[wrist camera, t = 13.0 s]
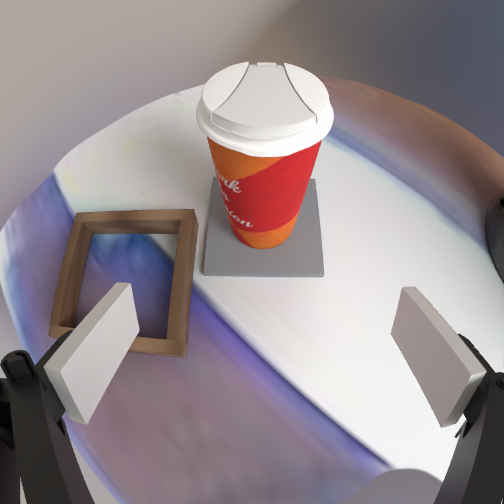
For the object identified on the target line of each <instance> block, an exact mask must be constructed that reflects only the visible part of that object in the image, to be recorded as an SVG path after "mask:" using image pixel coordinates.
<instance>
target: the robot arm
mask: <svg viewBox="0 0 504 504" xmlns="http://www.w3.org/2000/svg"><path fill="white" fill-rule="evenodd" d="M486 235H487V241H488V245H489V249H490V252H491V255H492V258H493V261H494V263H495V266H496V268H497V270H498V272H499V274H500V276H501V278H502V280H503V281H504V192H503V193H502V194H500V195H499V196H498V197H497V199H496V200H495V201H494V202H493V203H492V204H491V205H490V207H489V209H488V211H487V215H486ZM139 331H140V330H139V325H138V320H137V315H136V310H135V305H134V299H133V294H132V288H131V283H120V282H117V283H116V284H115V285H114V286H113V287H112V288H111V289H110V290H109V291H108V293H107V294H106V295H105V296H104V297H103V298H102V299H101V300H100V301H99V302H98V303H97V305H96V306H95V307H94V308H93V309H92V310H91V311H90V312H89V314H88V315H87V316H86V317H85V318H84V319H83V320H82V321H81V323H80V324H79V325H78V326H77V327H76V328H75V329H74V330H69V331H67V332H66V333H64V334H63V335H61V336H60V337H59V338H58V339H57V341H56V342H55V344H53V345H52V346H51V348H50V350H48V351H47V352H46V353H45V355H44V356H43V357H42V358H41V359H40V360H39V362H38V363H37V364H36V365H34V363H33V361H32V359H31V357H30V354H29V353H28V352H27V351H24V350H17V351H13V352H11V353H9V354H7V355H6V356H5V357H4V358H3V359H2V361H1V364H0V366H1V368H2V370H3V372H4V373H5V375H6V377H7V378H6V379H5V378H0V504H20V477H21V481H22V486H23V490H24V494H25V498H26V502H27V504H95V503H94V501H93V499H92V497H91V495H90V492H89V490H88V488H87V485H86V483H85V480H84V478H83V475H82V473H81V470H80V468H79V465H78V463H77V459H76V457H75V454H74V451H73V448H72V445H71V442H70V439H69V436H68V432H67V429H66V426H65V422H64V420H63V419H62V415H63V413H64V412H65V411H66V412H67V414H68V416H69V418H70V419H71V420H72V421H75V422H78V423H82V424H85V425H87V424H88V422H89V420H90V418H91V416H92V415H93V413H94V411H95V409H96V407H97V405H98V403H99V401H100V400H101V398H102V396H103V394H104V392H105V390H106V389H107V387H108V385H109V383H110V381H111V379H112V378H113V376H114V374H115V372H116V371H117V369H118V367H119V365H120V363H121V362H122V360H123V358H124V356H125V355H126V353H127V351H128V350H129V348H130V346H131V344H132V343H133V341H134V339H135V338H136V336H137V334H138V332H139ZM391 335H392V337H393V339H394V340H395V342H396V344H397V345H398V347H399V349H400V351H401V352H402V354H403V356H404V358H405V360H406V361H407V363H408V365H409V367H410V369H411V370H412V372H413V374H414V376H415V378H416V380H417V381H418V383H419V385H420V387H421V389H422V391H423V393H424V395H425V396H426V398H427V400H428V402H429V404H430V406H431V408H432V410H433V412H434V414H435V416H436V418H437V420H438V422H439V424H440V426H441V428H443V427H446V426H450V425H453V424H456V423H457V422H458V420H459V419H460V417H461V415H462V414H464V416H465V417H466V420H465V422H464V423H463V425H462V426H461V428H460V429H459V431H458V432H457V434H456V435H455V438H457V437H458V435H459V434H460V436H459V439H458V442H457V446H456V449H455V452H454V454H453V457H452V460H451V463H450V466H449V468H448V471H447V474H446V476H445V479H444V481H443V484H442V486H441V489H440V491H439V493H438V495H437V497H436V500H435V502H434V504H501V502H502V504H504V373H502V372H498V373H495V371H494V370H493V369H492V368H491V366H490V365H489V364H488V362H487V361H486V360H485V359H484V358H483V356H482V355H481V354H479V351H478V350H477V349H476V348H475V347H474V345H473V344H472V343H471V342H470V341H469V340H468V339H467V338H465V337H464V336H462V335H461V334H457V333H456V332H455V331H454V330H453V329H452V327H451V326H450V325H449V324H448V323H447V322H446V320H445V319H444V318H443V317H442V316H441V315H440V314H439V312H438V311H437V310H436V309H435V308H434V307H433V306H432V305H431V303H430V302H429V301H428V300H427V299H426V298H425V297H424V296H423V295H422V294H421V292H420V291H419V290H418V289H417V288H416V287H402V290H401V295H400V299H399V303H398V308H397V312H396V316H395V320H394V323H393V327H392V331H391ZM502 498H503V500H502Z"/></svg>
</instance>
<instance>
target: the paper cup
mask: <svg viewBox="0 0 504 504" xmlns="http://www.w3.org/2000/svg"><path fill="white" fill-rule="evenodd" d="M256 66H257V67H256ZM196 117H197V122H198V124H199V127H200V128H201V130H202V131H203V132H204V133H205V134H206V135H207V139H208V143H209V146H210V150H211V154H212V158H213V162H214V166H215V170H216V174H217V177H218V181H219V185H220V189H221V193H222V196H223V200H224V204H225V207H226V211H227V215H228V218H229V221H230V225H231V228H232V230H233V232H234V234H235V236H236V237H237V238H238V239H239V240H240V241H241V242H242V243H243V244H245V245H247V246H249V247H251V248H255V249H270V248H274V247H276V246H278V245H280V244H282V243H283V242H284V241H285V240H286V239H287V238H288V237H289V235H290V234H291V232H292V230H293V227H294V225H295V222H296V219H297V216H298V213H299V211H300V208H301V205H302V202H303V198H304V195H305V192H306V189H307V186H308V183H309V180H310V177H311V173H312V170H313V167H314V164H315V161H316V157H317V154H318V151H319V148H320V144H321V141H322V139H323V138H324V137H325V136H326V135H327V133H328V132H329V131H330V129H331V127H332V124H333V119H334V115H333V109H332V106H331V104H330V102H329V95H328V92H327V90H326V88H325V86H324V85H323V83H322V82H321V81H320V80H319V79H318V78H317V77H316V76H314V75H313V74H312V73H310V72H308V71H306V70H304V69H302V68H300V67H297V66H294V65H290V64H287V63H285V64H284V67H283V66H280V65H276V63H267V62H257V65H250V66H249V63H248V62H244V63H240V64H236V65H232V66H230V67H227V68H225V69H223V70H221V71H219V72H218V73H217V74H215V75H213V76H212V77H211V78H210V79H209V80H208V82H207V83H206V84H205V86H204V88H203V91H202V95H201V99H200V101H199V103H198V106H197V110H196Z"/></svg>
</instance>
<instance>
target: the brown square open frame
mask: <svg viewBox="0 0 504 504" xmlns="http://www.w3.org/2000/svg"><path fill="white" fill-rule="evenodd" d="M197 233H198V221H197V218H196V215H195V212H194V209H175V210H132V211H104V212H83V213H77V214H76V217H75V220H74V224H73V227H72V230H71V234H70V237H69V240H68V244H67V248H66V251H65V255H64V259H63V263H62V267H61V271H60V276H59V280H58V285H57V289H56V294H55V299H54V305H53V310H52V316H51V322H50V328H49V335H48V336H51V337H53V338H56V339H58V338H59V337H60V336H61V335H63V334H64V333H66V332H67V331H69V330H74V324H75V317H76V311H77V305H78V300H79V294H80V289H81V284H82V279H83V274H84V270H85V265H86V261H87V256H88V252H89V248H90V244H91V240H92V237H93V234H179V235H178V242H177V249H176V256H175V264H174V272H173V280H172V289H171V298H170V307H169V317H168V328H167V339H155V338H145V337H136V338H135V339H134V341H133V343H132V344H131V346H130V348H129V350H128V352H136V353H144V354H153V355H163V356H174V357H186V355H187V340H188V326H189V313H190V301H191V290H192V279H193V269H194V260H195V250H196V241H197Z"/></svg>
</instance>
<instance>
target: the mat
mask: <svg viewBox="0 0 504 504" xmlns="http://www.w3.org/2000/svg"><path fill="white" fill-rule="evenodd" d="M203 273H204V275H205V276H255V277H323V276H324V266H323V253H322V241H321V230H320V220H319V210H318V201H317V192H316V184H315V179H310V180H309V183H308V186H307V189H306V192H305V195H304V198H303V202H302V205H301V208H300V211H299V213H298V216H297V219H296V222H295V225H294V227H293V230H292V232H291V234H290V235H289V237H288V238H287V239H286V240H285V241H284V242H283V243H282V244H280V245H278V246H276V247H274V248H270V249H255V248H251V247H249V246H247V245H245V244H243V243H242V242H241V241H240V240H239V239H238V238H237V237H236V236H235V234H234V232H233V230H232V228H231V225H230V221H229V218H228V215H227V211H226V207H225V204H224V200H223V196H222V193H221V189H220V185H219V181H218V177H213V184H212V192H211V201H210V210H209V219H208V229H207V238H206V249H205V259H204V270H203Z"/></svg>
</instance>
